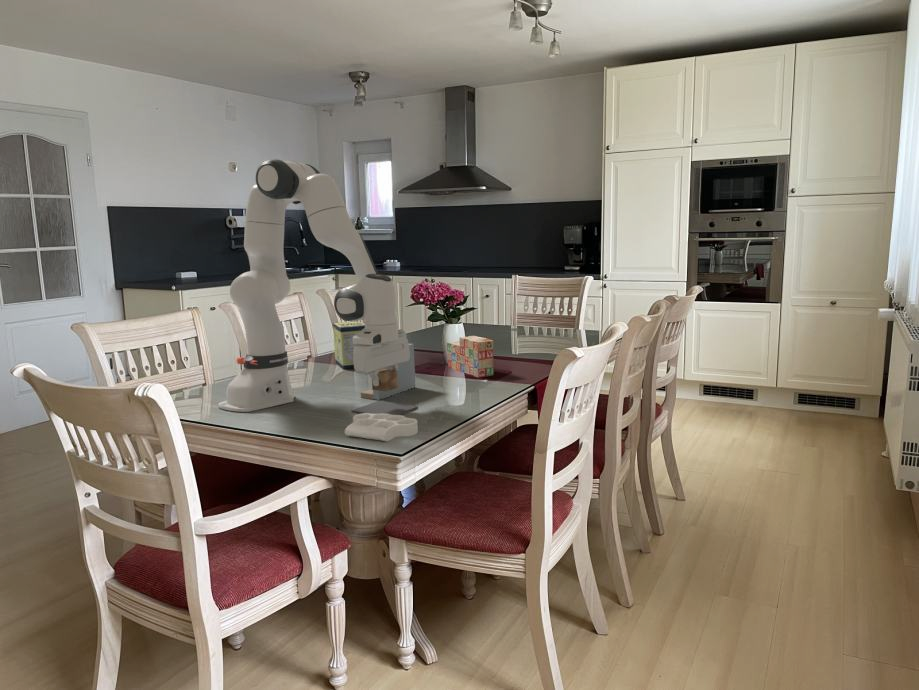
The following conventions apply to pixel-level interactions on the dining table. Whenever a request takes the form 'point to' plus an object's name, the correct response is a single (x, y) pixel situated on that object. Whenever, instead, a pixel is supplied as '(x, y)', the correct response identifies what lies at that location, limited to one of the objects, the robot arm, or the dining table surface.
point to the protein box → (345, 342)
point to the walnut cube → (386, 380)
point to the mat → (385, 408)
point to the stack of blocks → (471, 356)
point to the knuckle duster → (381, 426)
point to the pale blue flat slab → (404, 379)
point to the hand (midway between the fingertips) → (384, 383)
